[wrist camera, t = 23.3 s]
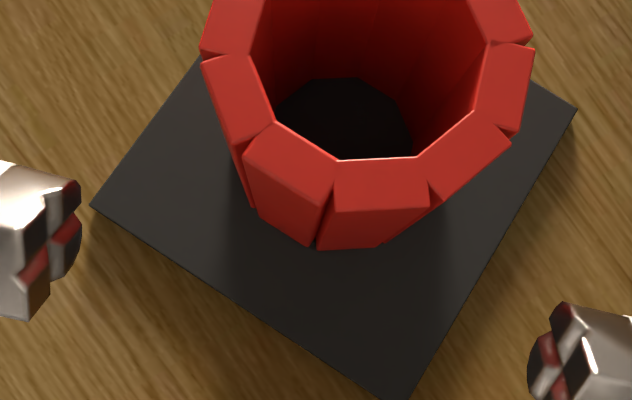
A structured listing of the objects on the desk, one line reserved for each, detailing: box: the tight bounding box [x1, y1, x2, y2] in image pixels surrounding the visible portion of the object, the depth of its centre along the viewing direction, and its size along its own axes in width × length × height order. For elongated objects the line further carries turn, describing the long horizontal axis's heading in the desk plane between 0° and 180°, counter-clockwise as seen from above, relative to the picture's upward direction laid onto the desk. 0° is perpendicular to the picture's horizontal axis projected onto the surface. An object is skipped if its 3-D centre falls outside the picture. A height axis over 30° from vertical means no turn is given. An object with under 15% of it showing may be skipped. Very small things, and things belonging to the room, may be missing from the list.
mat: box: [89, 54, 578, 400], centre depth 19 cm, size 11×11×1 cm
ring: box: [199, 0, 535, 251], centre depth 15 cm, size 6×7×7 cm
